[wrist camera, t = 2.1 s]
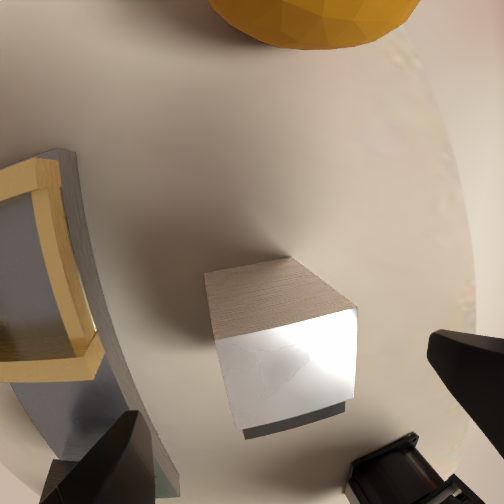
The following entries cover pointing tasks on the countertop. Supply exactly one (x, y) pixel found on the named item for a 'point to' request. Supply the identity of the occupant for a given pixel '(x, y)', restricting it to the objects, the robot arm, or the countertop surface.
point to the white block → (281, 345)
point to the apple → (315, 20)
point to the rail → (61, 319)
